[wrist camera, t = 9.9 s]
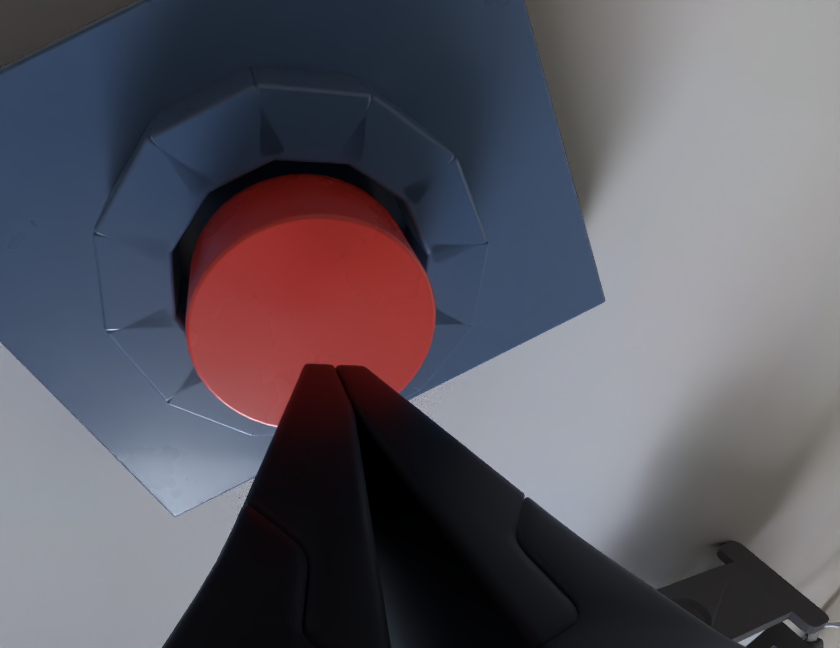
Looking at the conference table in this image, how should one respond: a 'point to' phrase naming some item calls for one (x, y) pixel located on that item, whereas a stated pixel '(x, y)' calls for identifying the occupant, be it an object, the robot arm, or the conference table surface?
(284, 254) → the switch button
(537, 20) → the conference table surface
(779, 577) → the clip-on lamp
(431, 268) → the switch block
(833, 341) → the conference table surface
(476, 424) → the conference table surface
